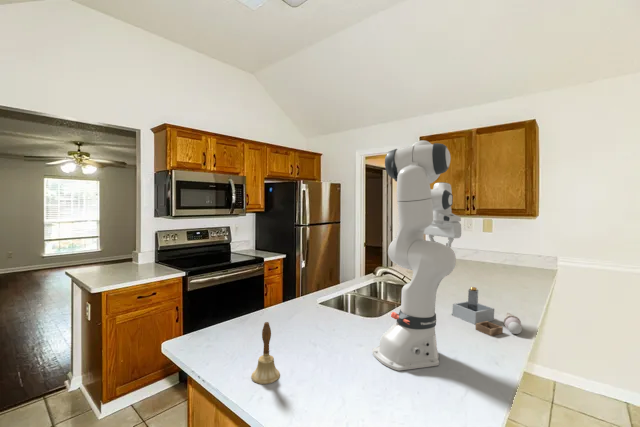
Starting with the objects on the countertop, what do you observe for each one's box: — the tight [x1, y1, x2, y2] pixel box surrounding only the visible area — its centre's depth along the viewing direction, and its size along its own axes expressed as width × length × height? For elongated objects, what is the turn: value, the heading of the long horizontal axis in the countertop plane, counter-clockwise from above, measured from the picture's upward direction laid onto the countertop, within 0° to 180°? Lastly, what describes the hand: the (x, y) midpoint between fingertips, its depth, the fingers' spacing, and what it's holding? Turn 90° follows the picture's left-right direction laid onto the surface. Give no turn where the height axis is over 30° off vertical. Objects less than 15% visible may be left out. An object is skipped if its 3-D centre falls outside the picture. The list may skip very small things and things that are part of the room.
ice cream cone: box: [503, 312, 522, 335], centre depth 129 cm, size 6×6×15 cm
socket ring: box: [475, 321, 504, 337], centre depth 126 cm, size 7×7×2 cm
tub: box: [451, 300, 495, 326], centre depth 141 cm, size 12×12×5 cm
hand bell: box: [250, 321, 281, 385], centre depth 91 cm, size 8×8×16 cm
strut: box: [467, 286, 479, 312], centre depth 141 cm, size 4×4×13 cm
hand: (440, 245), depth 150 cm, fingers open, 8 cm apart
